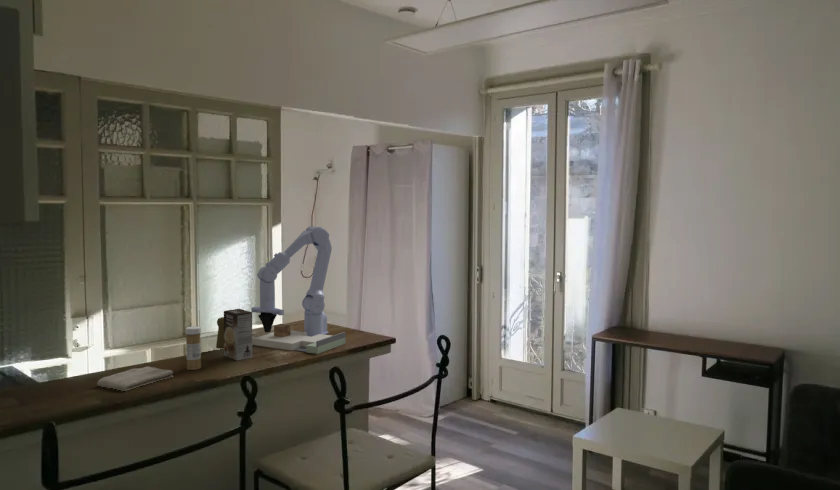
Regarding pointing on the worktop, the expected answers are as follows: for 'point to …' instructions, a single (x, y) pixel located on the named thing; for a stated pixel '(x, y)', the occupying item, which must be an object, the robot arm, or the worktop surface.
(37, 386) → the worktop surface
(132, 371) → the washcloth
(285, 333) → the walnut block
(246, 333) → the coffee box
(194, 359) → the sprinkles bottle
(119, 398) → the worktop surface
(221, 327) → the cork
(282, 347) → the trap deck
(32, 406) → the worktop surface
